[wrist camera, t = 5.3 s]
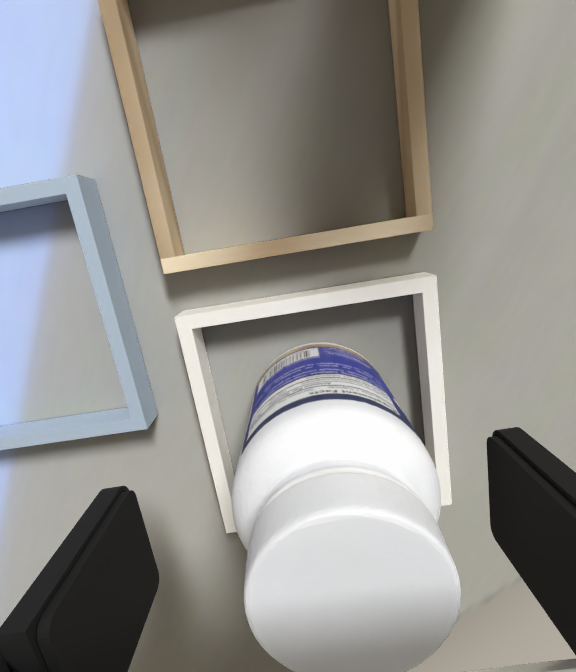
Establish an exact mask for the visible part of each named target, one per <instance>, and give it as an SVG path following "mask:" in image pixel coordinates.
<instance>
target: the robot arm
mask: <svg viewBox="0 0 576 672" xmlns="http://www.w3.org/2000/svg"><path fill="white" fill-rule="evenodd" d="M487 459H488V481H489V503H490V524H491V530H492V533H493V536H494V538H495V540H496V541H497V543H498V544H499V546H500V547H501V549H502V550H503V552H504V553H505V554H506V556H507V557H508V559H509V560H510V562H511V563H512V564H513V566H514V567H515V569H516V570H517V572H518V573H519V575H520V576H521V577H522V579H523V580H524V582H525V583H526V585H527V586H528V587H529V589H530V590H531V592H532V593H533V595H534V596H535V597H536V599H537V600H538V602H539V603H540V605H541V606H542V607H543V609H544V610H545V611H546V613H547V614H548V616H549V617H550V619H551V620H552V622H553V623H554V625H555V626H556V628H557V629H558V630H559V632H560V633H561V635H562V636H563V637H564V639H565V640H566V642H567V643H568V645H569V646H570V647H571V649H572V650H573V652H574V653H575V655H576V473H575V472H574V471H573V470H572V469H570V468H569V467H568V466H567V465H566V464H564V463H563V462H562V461H561V460H559V459H558V458H557V457H556V456H554V455H553V454H552V453H551V452H549V451H548V450H547V449H546V448H544V447H543V446H542V445H541V444H539V443H538V442H537V441H536V440H534V439H533V438H532V437H531V436H529V435H528V434H527V433H526V432H525V431H523V430H522V429H521V428H519V427H515V428H508V429H501V430H495V431H494V432H493V435H492V437H489V438H488V439H487ZM158 584H159V573H158V569H157V566H156V562H155V559H154V555H153V552H152V549H151V545H150V542H149V538H148V535H147V531H146V528H145V525H144V521H143V518H142V514H141V511H140V508H139V504H138V501H137V497H136V494H135V492H134V491H132V490H131V491H129V489H128V488H127V487H126V486H120V487H113V488H106V489H102V490H101V491H100V492H99V494H98V495H97V496H96V498H95V499H94V500H93V502H92V503H91V505H90V506H89V507H88V509H87V510H86V511H85V513H84V514H83V515H82V517H81V518H80V520H79V521H78V522H77V524H76V525H75V526H74V528H73V529H72V530H71V532H70V533H69V535H68V536H67V537H66V539H65V540H64V541H63V543H62V544H61V545H60V547H59V548H58V550H57V551H56V552H55V554H54V555H53V556H52V558H51V559H50V560H49V562H48V563H47V565H46V566H45V567H44V569H43V570H42V571H41V573H40V574H39V575H38V577H37V578H36V580H35V581H34V582H33V584H32V585H31V586H30V588H29V589H28V590H27V592H26V593H25V595H24V596H23V597H22V599H21V600H20V601H19V603H18V604H17V605H16V607H15V608H14V610H13V611H12V612H11V614H10V615H9V616H8V618H7V619H6V620H5V622H4V623H3V625H2V626H1V627H0V672H127V671H128V669H129V666H130V663H131V660H132V658H133V655H134V652H135V649H136V647H137V644H138V641H139V638H140V636H141V633H142V630H143V627H144V625H145V622H146V619H147V616H148V614H149V611H150V608H151V605H152V603H153V600H154V597H155V595H156V592H157V589H158ZM465 672H576V659H568V660H559V661H548V662H539V663H530V664H522V665H515V666H506V667H498V668H490V669H481V670H473V671H465Z"/></svg>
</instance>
